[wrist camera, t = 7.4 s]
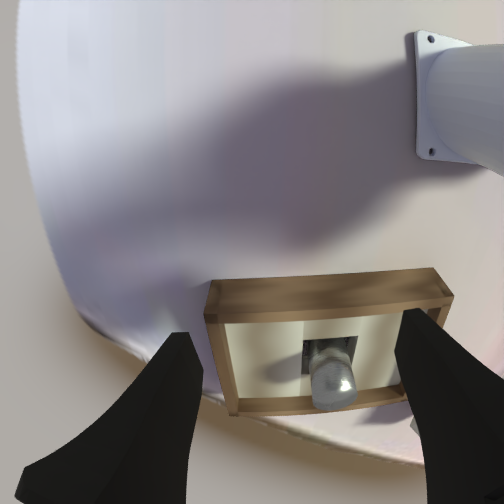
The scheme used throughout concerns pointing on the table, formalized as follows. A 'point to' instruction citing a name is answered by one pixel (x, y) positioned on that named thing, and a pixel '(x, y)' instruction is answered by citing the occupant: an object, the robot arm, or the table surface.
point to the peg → (330, 373)
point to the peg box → (313, 334)
